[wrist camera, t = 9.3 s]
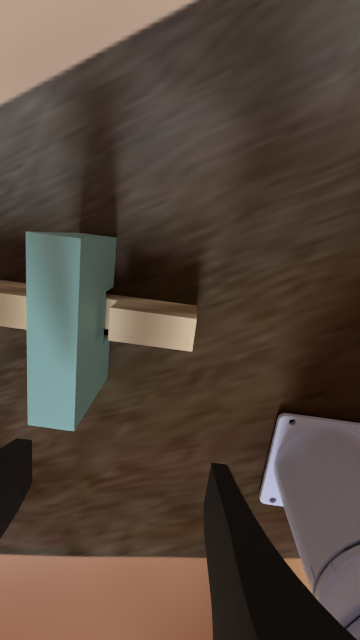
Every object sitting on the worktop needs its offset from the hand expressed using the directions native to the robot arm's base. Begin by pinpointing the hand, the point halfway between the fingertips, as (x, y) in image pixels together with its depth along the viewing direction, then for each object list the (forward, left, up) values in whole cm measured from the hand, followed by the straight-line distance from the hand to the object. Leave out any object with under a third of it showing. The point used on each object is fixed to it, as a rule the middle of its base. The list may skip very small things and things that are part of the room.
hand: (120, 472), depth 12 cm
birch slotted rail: (+5, -4, -10) cm, 12 cm away
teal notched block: (+5, -4, -10) cm, 12 cm away
